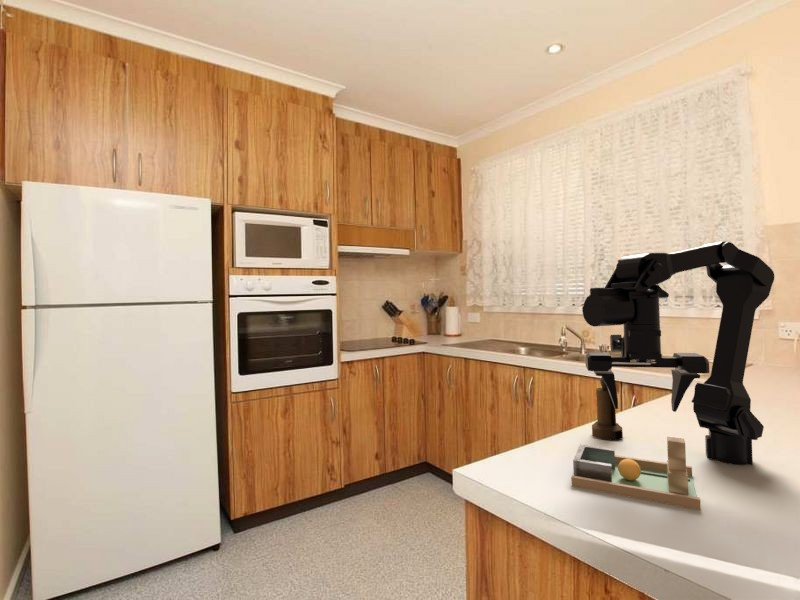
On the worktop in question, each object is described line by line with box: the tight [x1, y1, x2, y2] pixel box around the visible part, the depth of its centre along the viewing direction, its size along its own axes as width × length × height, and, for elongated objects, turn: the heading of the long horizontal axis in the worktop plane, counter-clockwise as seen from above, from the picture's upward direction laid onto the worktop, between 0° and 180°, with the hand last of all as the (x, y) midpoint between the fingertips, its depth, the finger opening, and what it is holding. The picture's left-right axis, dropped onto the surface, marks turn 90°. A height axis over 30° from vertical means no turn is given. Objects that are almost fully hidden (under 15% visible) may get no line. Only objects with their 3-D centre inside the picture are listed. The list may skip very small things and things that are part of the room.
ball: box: [618, 459, 641, 480], centre depth 73 cm, size 4×4×4 cm
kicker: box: [666, 436, 688, 495], centre depth 69 cm, size 3×6×8 cm, turn 150°
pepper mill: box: [591, 377, 624, 441], centre depth 99 cm, size 7×6×18 cm
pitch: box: [571, 454, 702, 511], centre depth 73 cm, size 18×14×2 cm
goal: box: [572, 443, 616, 482], centre depth 76 cm, size 6×9×4 cm, turn 149°
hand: (644, 409), depth 75 cm, fingers open, 9 cm apart
